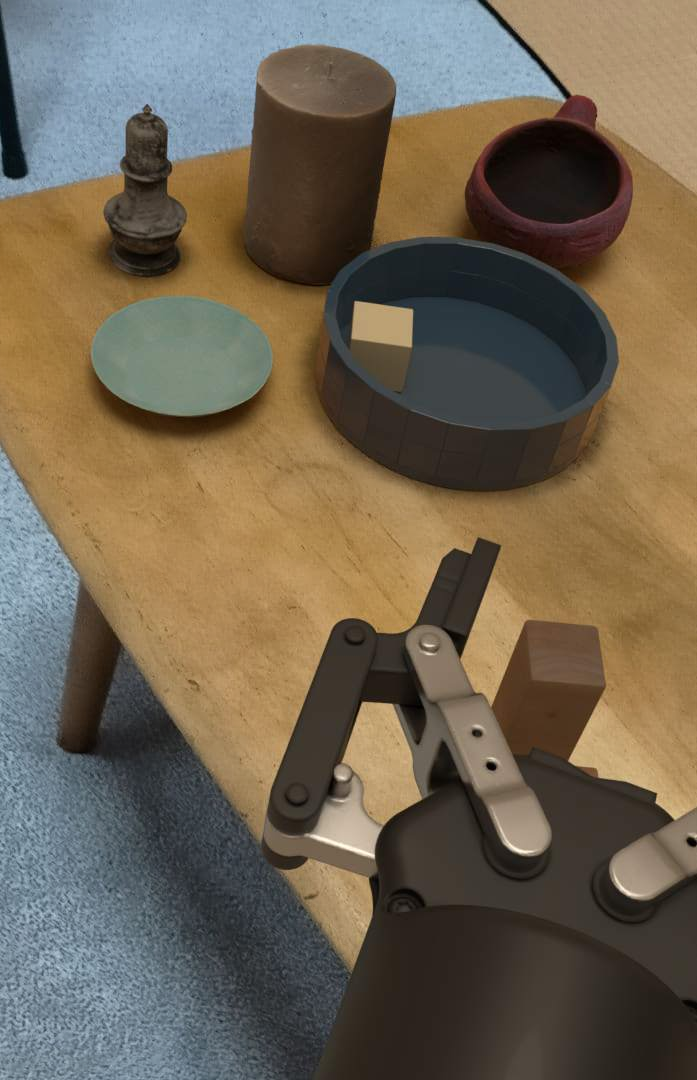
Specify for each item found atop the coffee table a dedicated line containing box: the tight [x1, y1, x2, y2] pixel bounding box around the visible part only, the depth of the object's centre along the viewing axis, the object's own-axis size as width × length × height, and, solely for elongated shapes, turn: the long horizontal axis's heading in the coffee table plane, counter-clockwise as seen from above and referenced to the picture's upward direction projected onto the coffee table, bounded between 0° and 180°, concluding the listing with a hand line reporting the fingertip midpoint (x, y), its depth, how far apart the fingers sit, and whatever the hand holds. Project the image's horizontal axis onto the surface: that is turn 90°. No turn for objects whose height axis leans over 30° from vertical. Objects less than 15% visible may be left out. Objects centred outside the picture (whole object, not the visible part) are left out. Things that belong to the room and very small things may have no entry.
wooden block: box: [490, 619, 607, 778], centre depth 58 cm, size 7×3×15 cm, turn 89°
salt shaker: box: [102, 103, 188, 278], centre depth 86 cm, size 6×6×12 cm
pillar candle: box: [243, 43, 397, 286], centre depth 88 cm, size 10×10×15 cm
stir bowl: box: [314, 236, 620, 492], centre depth 84 cm, size 20×20×6 cm
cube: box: [347, 301, 413, 392], centre depth 83 cm, size 4×4×4 cm
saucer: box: [90, 295, 274, 418], centre depth 82 cm, size 12×12×2 cm
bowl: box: [464, 94, 634, 269], centre depth 96 cm, size 16×13×8 cm
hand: (628, 611), depth 34 cm, fingers open, 8 cm apart
